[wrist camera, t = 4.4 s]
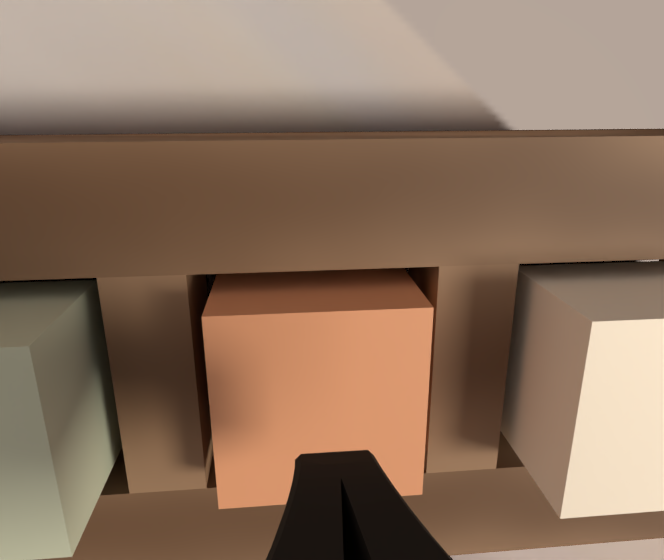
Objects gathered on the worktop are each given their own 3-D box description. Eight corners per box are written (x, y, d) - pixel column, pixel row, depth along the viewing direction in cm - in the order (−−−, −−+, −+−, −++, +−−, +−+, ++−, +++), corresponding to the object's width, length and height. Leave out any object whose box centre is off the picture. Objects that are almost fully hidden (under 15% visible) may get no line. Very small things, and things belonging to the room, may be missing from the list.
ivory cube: (651, 414, 17) (757, 503, 13) (495, 423, 16) (560, 518, 12) (684, 260, 15) (816, 312, 11) (513, 265, 15) (592, 322, 11)
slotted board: (642, 471, 19) (705, 534, 16) (-58, 520, 17) (-124, 603, 14) (717, 128, 16) (815, 134, 13) (-171, 136, 13) (-291, 146, 11)
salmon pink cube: (390, 409, 17) (422, 494, 13) (232, 418, 16) (218, 509, 13) (396, 258, 15) (433, 307, 12) (220, 263, 15) (201, 317, 11)
